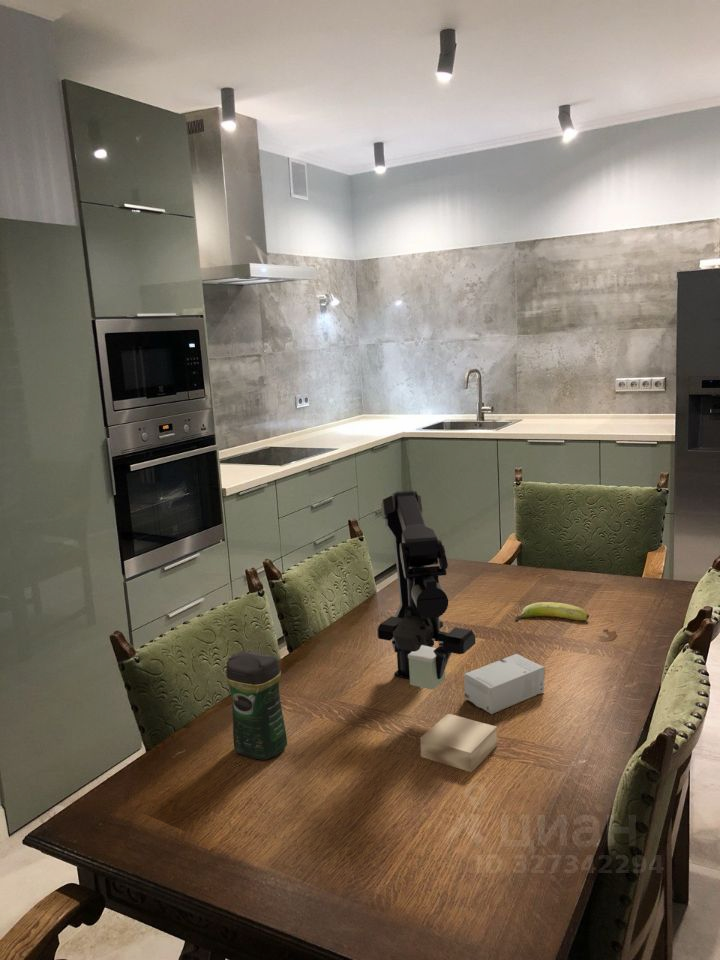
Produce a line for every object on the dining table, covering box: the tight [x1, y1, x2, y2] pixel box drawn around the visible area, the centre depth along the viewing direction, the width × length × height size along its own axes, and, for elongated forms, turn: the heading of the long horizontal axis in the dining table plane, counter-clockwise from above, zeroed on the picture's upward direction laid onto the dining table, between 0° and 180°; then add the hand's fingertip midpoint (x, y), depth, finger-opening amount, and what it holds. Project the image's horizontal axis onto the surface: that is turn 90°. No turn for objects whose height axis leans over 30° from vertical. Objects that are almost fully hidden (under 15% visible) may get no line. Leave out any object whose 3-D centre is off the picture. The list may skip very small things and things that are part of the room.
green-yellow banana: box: [512, 599, 618, 643], centre depth 197 cm, size 35×27×4 cm
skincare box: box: [463, 653, 546, 715], centre depth 157 cm, size 8×6×15 cm
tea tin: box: [408, 645, 446, 691], centre depth 150 cm, size 5×5×6 cm
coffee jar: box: [225, 650, 288, 760], centre depth 143 cm, size 10×8×19 cm
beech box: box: [419, 713, 498, 773], centre depth 139 cm, size 10×10×4 cm
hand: (427, 675), depth 151 cm, fingers closed on tea tin, 5 cm apart
